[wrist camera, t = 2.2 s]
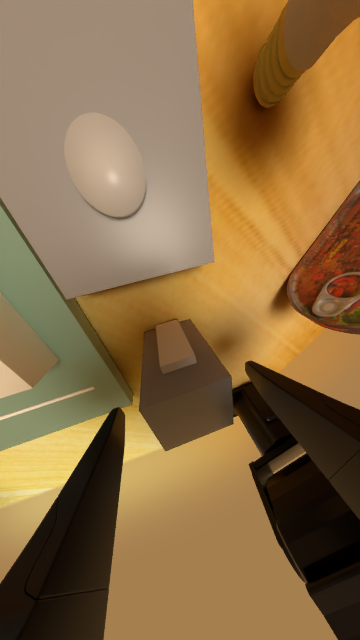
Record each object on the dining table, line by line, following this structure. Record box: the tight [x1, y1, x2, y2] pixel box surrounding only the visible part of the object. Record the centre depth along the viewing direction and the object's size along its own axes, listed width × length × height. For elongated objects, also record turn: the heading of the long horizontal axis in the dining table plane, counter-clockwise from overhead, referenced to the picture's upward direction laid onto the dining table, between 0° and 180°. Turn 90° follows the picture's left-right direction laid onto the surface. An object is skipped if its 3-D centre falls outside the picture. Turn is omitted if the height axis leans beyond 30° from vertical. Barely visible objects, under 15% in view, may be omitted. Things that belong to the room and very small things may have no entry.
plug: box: [139, 319, 233, 451], centre depth 10 cm, size 5×4×7 cm
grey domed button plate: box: [0, 0, 214, 300], centre depth 7 cm, size 9×9×3 cm
